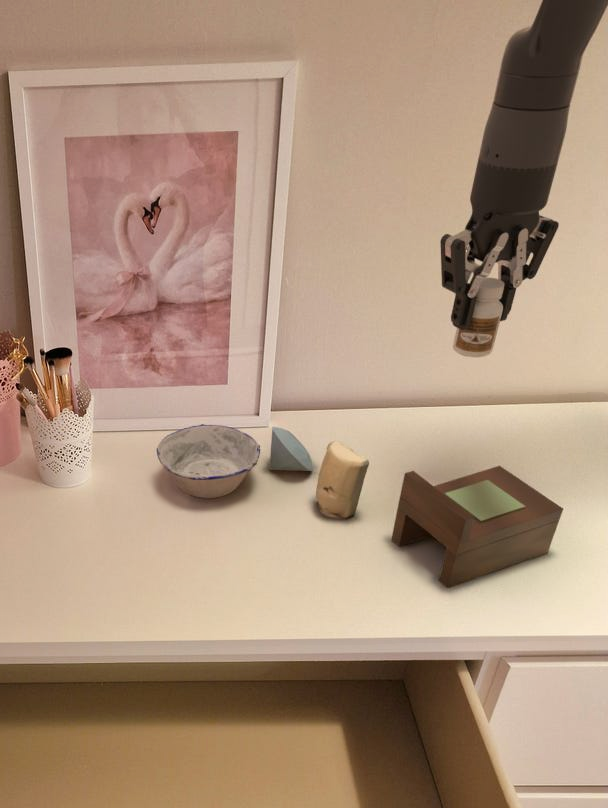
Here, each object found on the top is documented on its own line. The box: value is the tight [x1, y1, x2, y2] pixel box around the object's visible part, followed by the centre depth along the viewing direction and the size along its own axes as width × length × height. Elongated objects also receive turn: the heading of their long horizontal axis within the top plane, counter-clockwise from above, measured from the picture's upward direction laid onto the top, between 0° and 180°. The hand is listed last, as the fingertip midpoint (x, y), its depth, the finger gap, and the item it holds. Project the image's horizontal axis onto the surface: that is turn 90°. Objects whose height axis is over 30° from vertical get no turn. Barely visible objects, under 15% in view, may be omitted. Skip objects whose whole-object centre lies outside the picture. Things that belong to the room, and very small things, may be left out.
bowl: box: [156, 423, 261, 499], centre depth 110 cm, size 13×13×5 cm
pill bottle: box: [452, 276, 504, 358], centre depth 98 cm, size 4×4×8 cm
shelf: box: [390, 465, 564, 589], centre depth 97 cm, size 14×10×9 cm
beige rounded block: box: [315, 441, 370, 520], centre depth 103 cm, size 6×5×8 cm
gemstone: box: [269, 426, 313, 472], centre depth 112 cm, size 8×8×5 cm
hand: (479, 322), depth 98 cm, fingers closed on pill bottle, 4 cm apart
